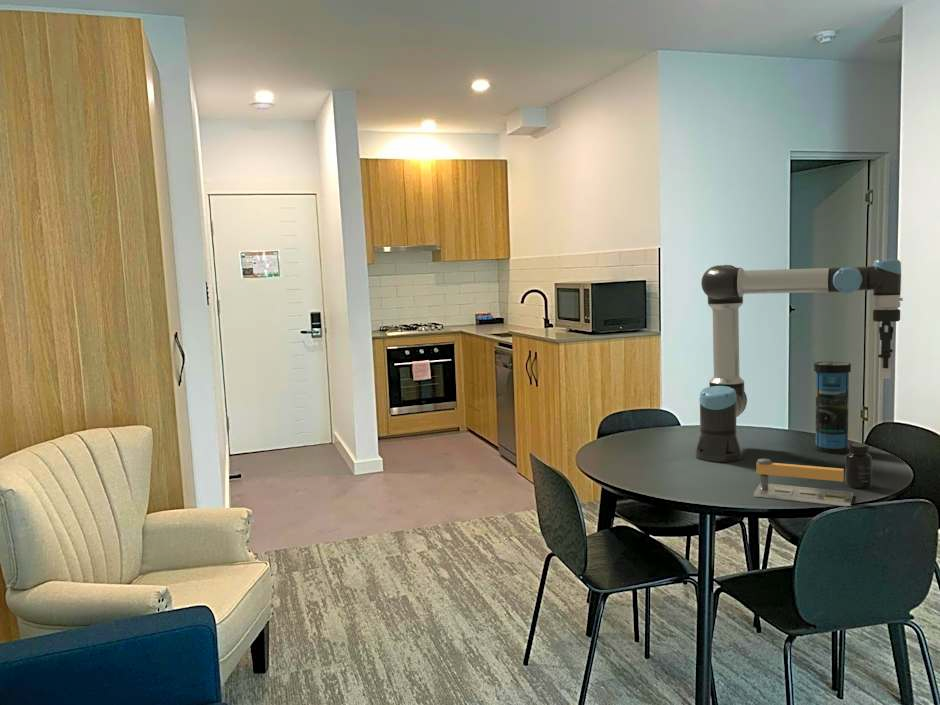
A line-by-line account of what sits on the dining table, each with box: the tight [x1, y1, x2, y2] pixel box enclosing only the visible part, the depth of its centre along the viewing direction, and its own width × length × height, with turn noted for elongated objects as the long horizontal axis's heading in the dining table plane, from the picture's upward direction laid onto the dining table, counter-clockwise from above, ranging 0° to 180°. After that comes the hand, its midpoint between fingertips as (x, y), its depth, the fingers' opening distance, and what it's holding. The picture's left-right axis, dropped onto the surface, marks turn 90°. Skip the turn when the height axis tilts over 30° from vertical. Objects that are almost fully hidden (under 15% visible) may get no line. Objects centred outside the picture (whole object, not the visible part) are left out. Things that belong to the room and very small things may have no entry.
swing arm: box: [755, 458, 845, 483], centre depth 204 cm, size 22×4×4 cm, turn 60°
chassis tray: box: [753, 474, 854, 507], centre depth 204 cm, size 24×11×5 cm, turn 60°
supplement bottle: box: [844, 442, 873, 490], centre depth 211 cm, size 7×7×12 cm
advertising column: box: [813, 361, 852, 454], centre depth 252 cm, size 11×11×30 cm
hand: (885, 375), depth 233 cm, fingers open, 13 cm apart
